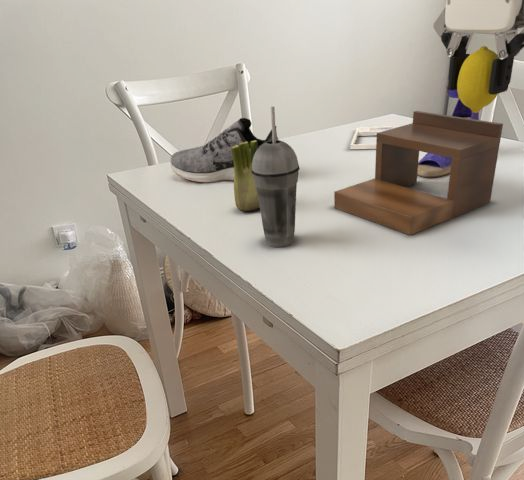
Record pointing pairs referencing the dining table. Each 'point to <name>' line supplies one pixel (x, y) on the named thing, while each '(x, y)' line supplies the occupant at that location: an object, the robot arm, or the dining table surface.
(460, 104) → the sandal
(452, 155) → the stand
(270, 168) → the beverage cup
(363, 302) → the dining table surface
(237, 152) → the fennel bulb
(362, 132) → the photo frame
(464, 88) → the lemon
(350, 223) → the dining table surface
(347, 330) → the dining table surface
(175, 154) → the athletic shoe
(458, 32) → the robot arm
